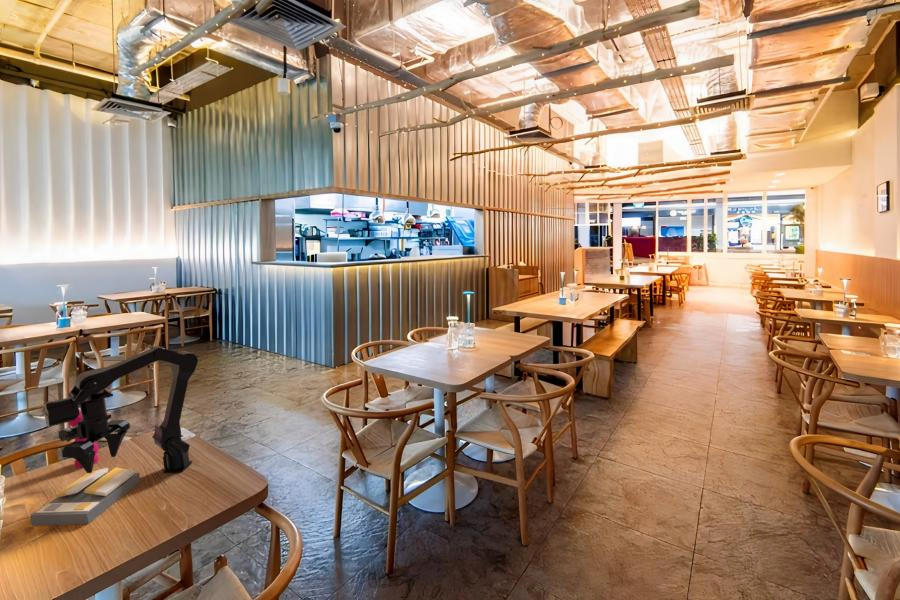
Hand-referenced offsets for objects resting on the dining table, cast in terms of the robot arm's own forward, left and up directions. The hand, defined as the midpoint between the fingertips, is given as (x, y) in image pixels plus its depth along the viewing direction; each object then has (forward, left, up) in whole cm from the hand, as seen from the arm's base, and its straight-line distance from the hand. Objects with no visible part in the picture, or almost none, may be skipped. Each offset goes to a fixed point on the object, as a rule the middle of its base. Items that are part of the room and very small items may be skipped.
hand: (102, 464), depth 130 cm
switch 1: (+6, 0, -6) cm, 8 cm away
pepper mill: (+22, -20, -10) cm, 31 cm away
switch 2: (-2, 0, -6) cm, 6 cm away
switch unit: (+2, +3, -10) cm, 11 cm away
